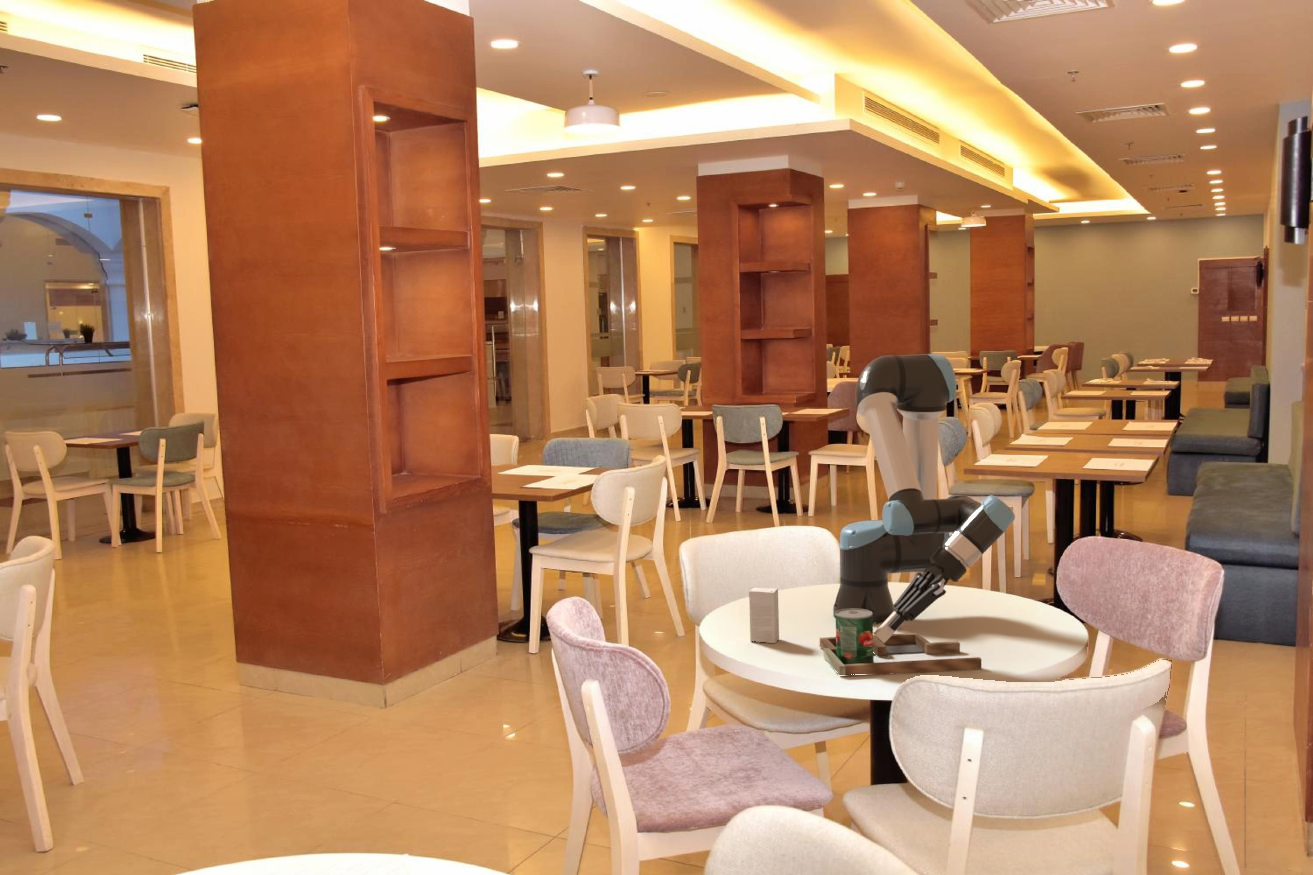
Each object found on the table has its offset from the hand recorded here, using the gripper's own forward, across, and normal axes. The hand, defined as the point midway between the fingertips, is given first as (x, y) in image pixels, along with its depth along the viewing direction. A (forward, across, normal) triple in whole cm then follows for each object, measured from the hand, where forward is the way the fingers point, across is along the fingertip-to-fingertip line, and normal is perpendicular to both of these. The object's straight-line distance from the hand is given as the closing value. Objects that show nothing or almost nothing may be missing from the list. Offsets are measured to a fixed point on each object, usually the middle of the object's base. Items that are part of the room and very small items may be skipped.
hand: (878, 638), depth 238 cm
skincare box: (+18, +22, +10) cm, 31 cm away
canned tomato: (+8, +1, -1) cm, 8 cm away
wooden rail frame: (+1, +4, -7) cm, 8 cm away
